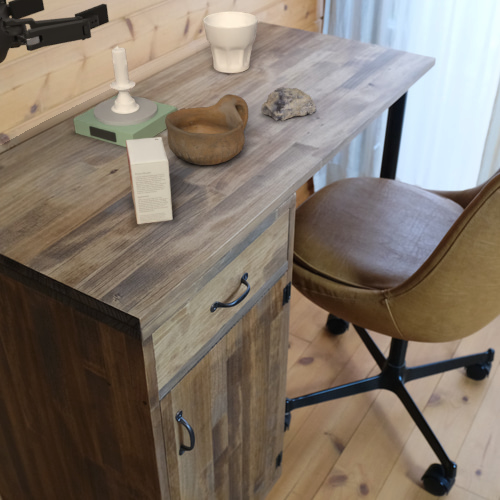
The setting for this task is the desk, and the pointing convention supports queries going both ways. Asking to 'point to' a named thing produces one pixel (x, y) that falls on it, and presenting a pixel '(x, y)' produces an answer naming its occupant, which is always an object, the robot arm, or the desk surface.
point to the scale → (123, 121)
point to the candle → (122, 84)
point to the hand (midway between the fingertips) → (73, 6)
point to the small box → (149, 180)
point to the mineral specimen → (288, 104)
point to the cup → (231, 39)
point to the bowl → (208, 131)
